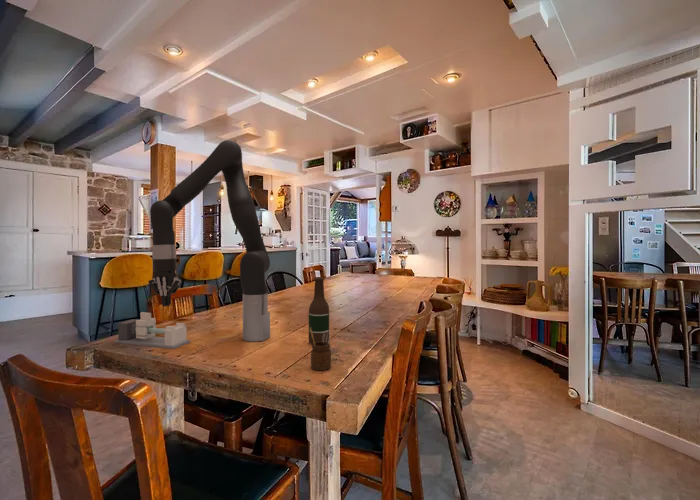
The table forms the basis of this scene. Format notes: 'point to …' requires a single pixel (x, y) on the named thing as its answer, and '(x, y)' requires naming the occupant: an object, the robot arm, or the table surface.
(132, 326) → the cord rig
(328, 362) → the utensil holder
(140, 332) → the cream stepped block
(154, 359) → the table surface
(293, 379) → the table surface
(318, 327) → the beer bottle
